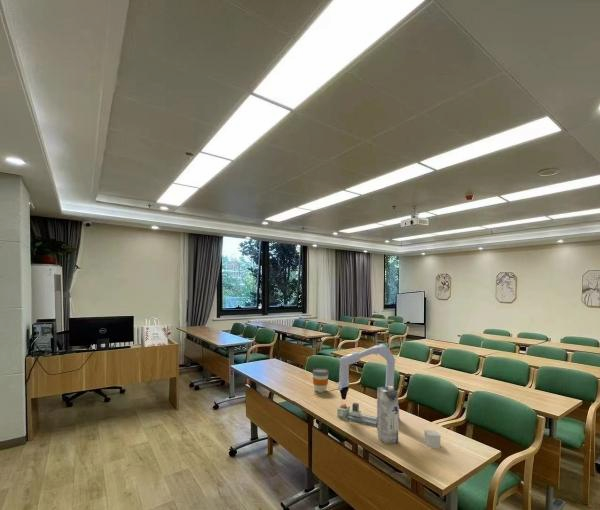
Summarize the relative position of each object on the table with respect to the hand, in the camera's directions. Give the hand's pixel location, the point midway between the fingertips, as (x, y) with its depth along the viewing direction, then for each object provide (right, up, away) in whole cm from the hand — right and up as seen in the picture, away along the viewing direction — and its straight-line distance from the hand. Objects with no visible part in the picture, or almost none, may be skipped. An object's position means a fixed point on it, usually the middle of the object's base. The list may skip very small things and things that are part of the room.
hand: (343, 399), depth 199 cm
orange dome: (0, -6, -1) cm, 6 cm away
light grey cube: (+40, -7, -36) cm, 55 cm away
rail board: (+11, -9, -7) cm, 16 cm away
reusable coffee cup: (-12, -15, +47) cm, 51 cm away
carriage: (+7, -8, -5) cm, 11 cm away
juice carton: (+19, -7, -32) cm, 38 cm away
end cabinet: (0, -10, -1) cm, 10 cm away
